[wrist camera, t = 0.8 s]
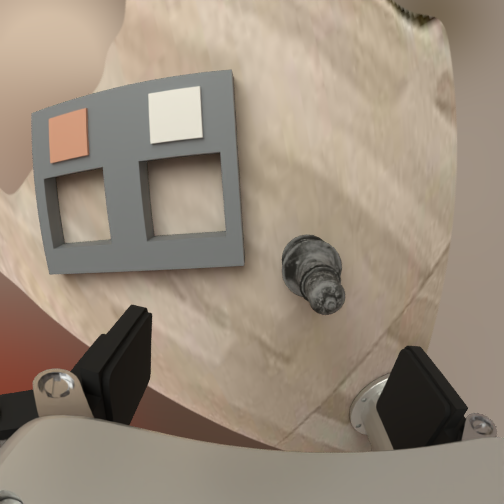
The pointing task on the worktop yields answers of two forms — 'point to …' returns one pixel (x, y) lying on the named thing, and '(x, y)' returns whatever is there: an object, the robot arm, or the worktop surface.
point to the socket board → (138, 170)
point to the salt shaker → (314, 273)
